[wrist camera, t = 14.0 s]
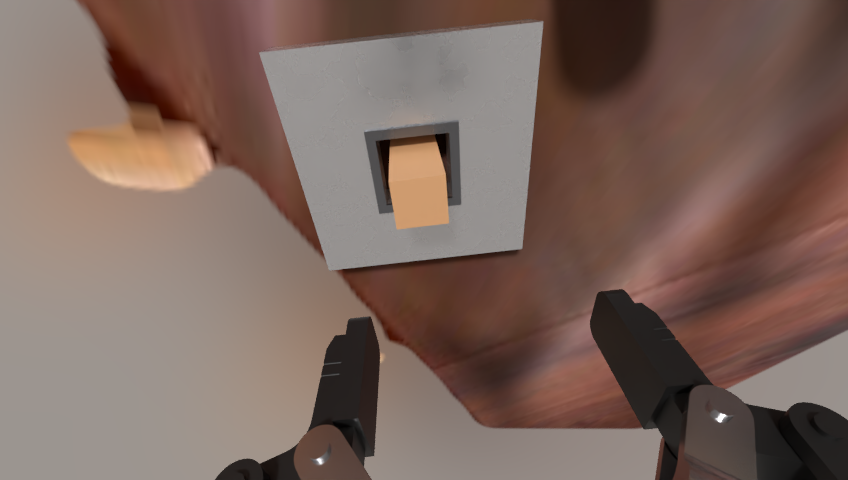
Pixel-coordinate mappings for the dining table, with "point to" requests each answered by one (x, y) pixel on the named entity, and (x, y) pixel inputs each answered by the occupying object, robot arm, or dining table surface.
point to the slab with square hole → (411, 134)
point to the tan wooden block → (417, 182)
